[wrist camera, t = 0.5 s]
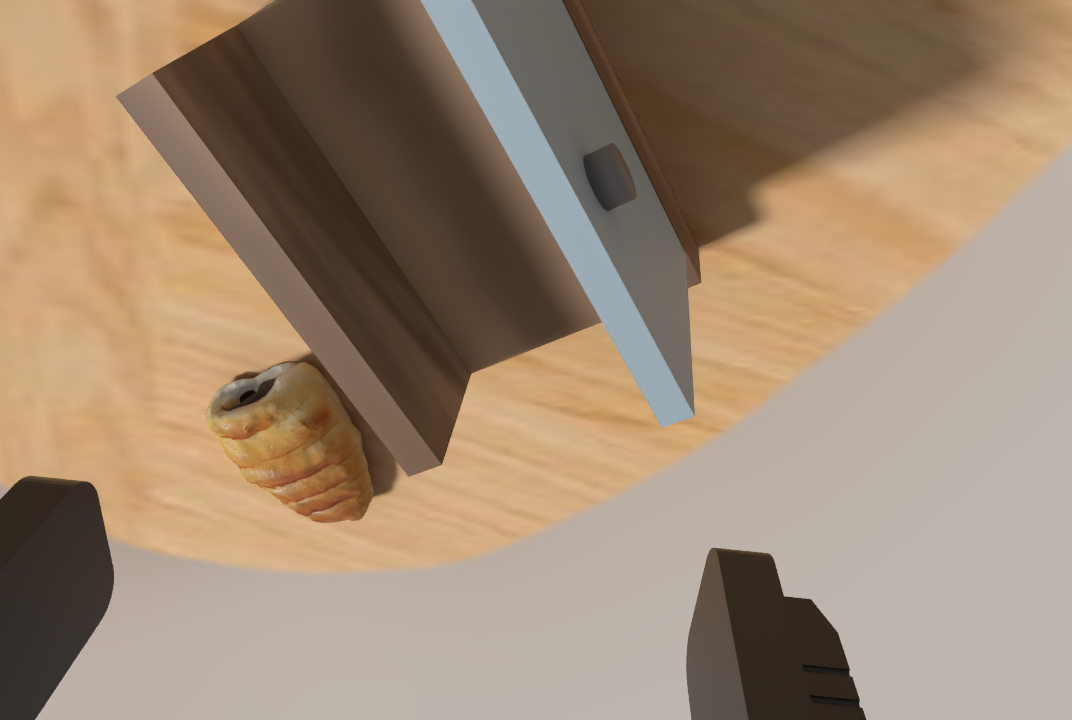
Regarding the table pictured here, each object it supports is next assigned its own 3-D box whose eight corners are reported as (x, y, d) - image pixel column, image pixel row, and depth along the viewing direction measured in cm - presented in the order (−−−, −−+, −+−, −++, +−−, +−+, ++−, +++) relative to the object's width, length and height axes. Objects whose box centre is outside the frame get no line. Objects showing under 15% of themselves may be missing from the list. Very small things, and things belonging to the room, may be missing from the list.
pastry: (411, 483, 45) (392, 535, 42) (309, 514, 48) (284, 566, 44) (312, 344, 41) (282, 390, 38) (205, 385, 43) (169, 432, 40)
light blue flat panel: (661, 264, 32) (661, 427, 24) (490, -73, 27) (415, -10, 19) (705, 246, 32) (722, 407, 24) (540, -104, 26) (486, -53, 18)
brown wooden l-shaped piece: (509, -146, 28) (456, -122, 21) (698, 248, 36) (708, 370, 28) (239, 25, 33) (115, 96, 25) (455, 347, 40) (408, 476, 32)
